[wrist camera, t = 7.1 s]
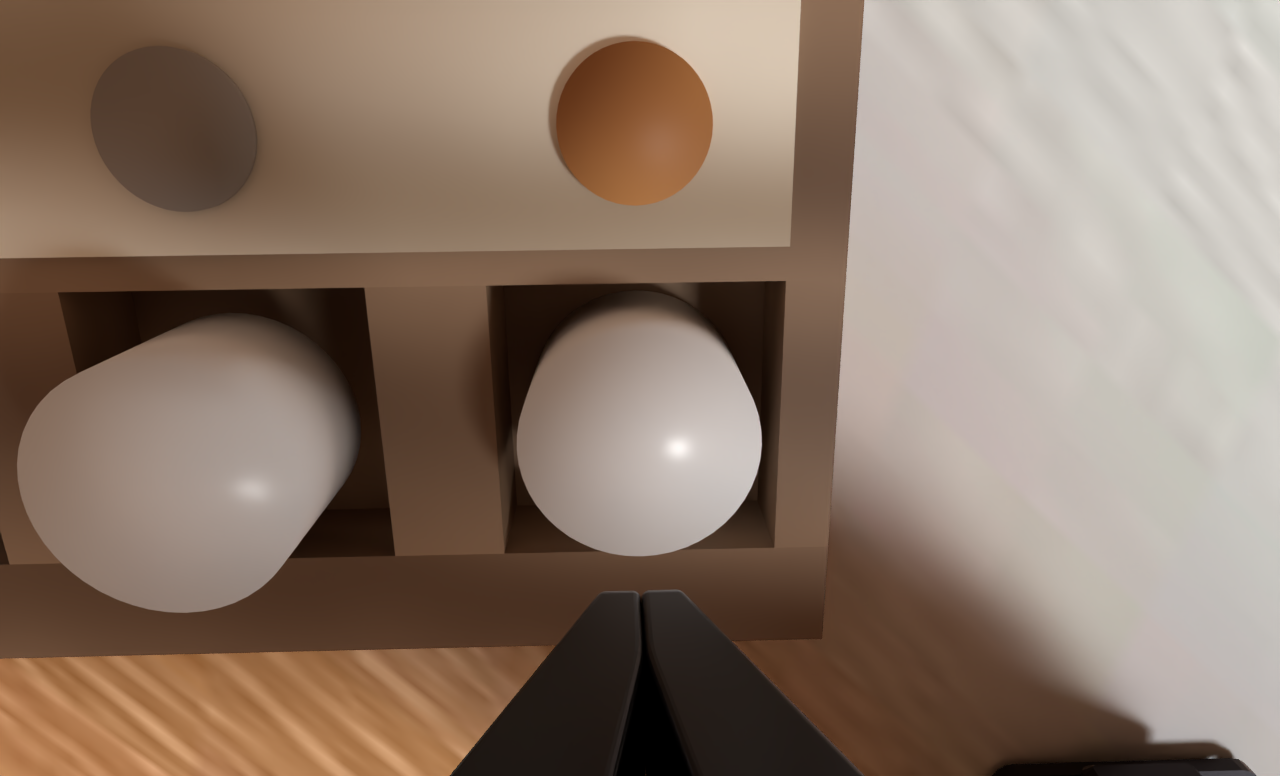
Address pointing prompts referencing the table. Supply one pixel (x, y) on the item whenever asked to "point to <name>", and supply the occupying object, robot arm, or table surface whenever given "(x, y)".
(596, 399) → the button
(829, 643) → the table surface
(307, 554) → the button board
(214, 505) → the button middle
